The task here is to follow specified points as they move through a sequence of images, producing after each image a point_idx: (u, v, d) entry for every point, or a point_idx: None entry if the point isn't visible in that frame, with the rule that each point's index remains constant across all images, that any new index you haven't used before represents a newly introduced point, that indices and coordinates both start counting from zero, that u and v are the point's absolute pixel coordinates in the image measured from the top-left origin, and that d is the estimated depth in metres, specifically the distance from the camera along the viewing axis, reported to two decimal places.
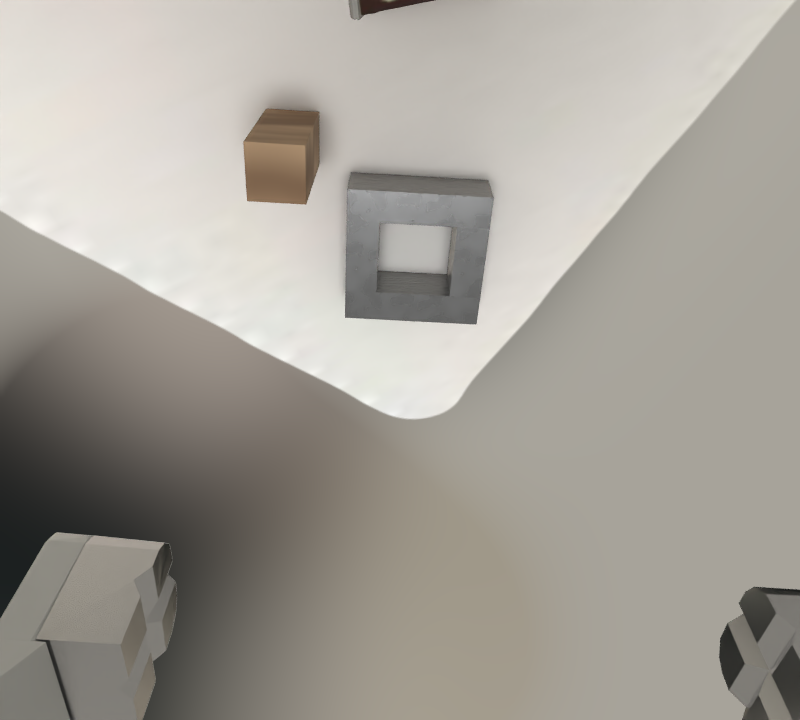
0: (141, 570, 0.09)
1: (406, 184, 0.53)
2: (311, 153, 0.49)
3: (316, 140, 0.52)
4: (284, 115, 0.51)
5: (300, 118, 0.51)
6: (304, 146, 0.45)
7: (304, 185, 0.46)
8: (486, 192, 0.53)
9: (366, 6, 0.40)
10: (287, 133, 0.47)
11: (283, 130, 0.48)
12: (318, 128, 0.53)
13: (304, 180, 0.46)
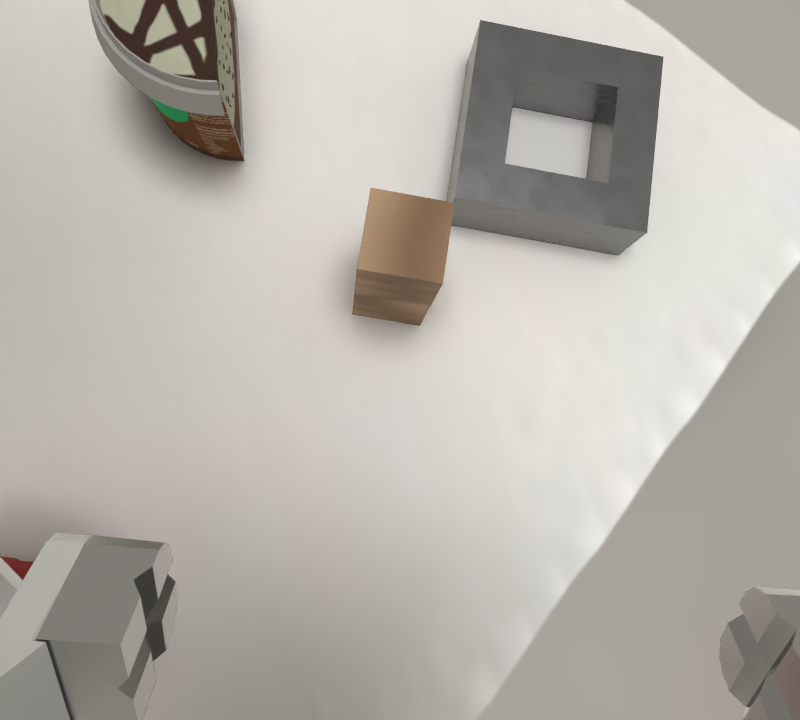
0: (142, 570, 0.09)
1: (459, 140, 0.41)
2: None
3: None
4: None
5: None
6: (372, 189, 0.32)
7: (426, 199, 0.33)
8: (475, 38, 0.41)
9: (207, 79, 0.32)
10: None
11: None
12: None
13: (419, 198, 0.33)
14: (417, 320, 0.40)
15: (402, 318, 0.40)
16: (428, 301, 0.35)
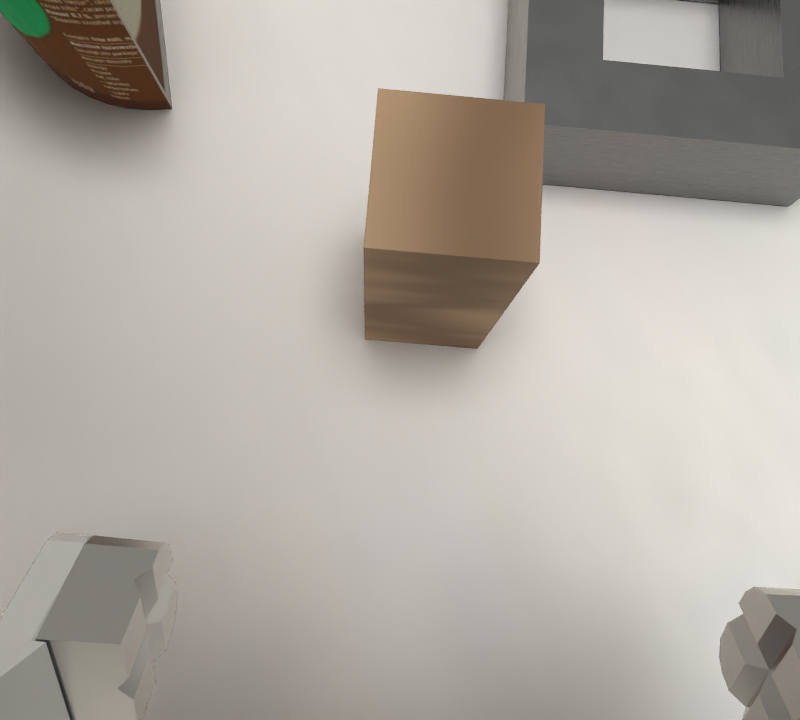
0: (141, 570, 0.09)
1: (516, 38, 0.25)
2: None
3: None
4: None
5: None
6: (381, 91, 0.16)
7: (490, 102, 0.16)
8: None
9: None
10: None
11: None
12: None
13: (475, 100, 0.16)
14: (475, 340, 0.23)
15: (449, 339, 0.23)
16: (502, 304, 0.19)
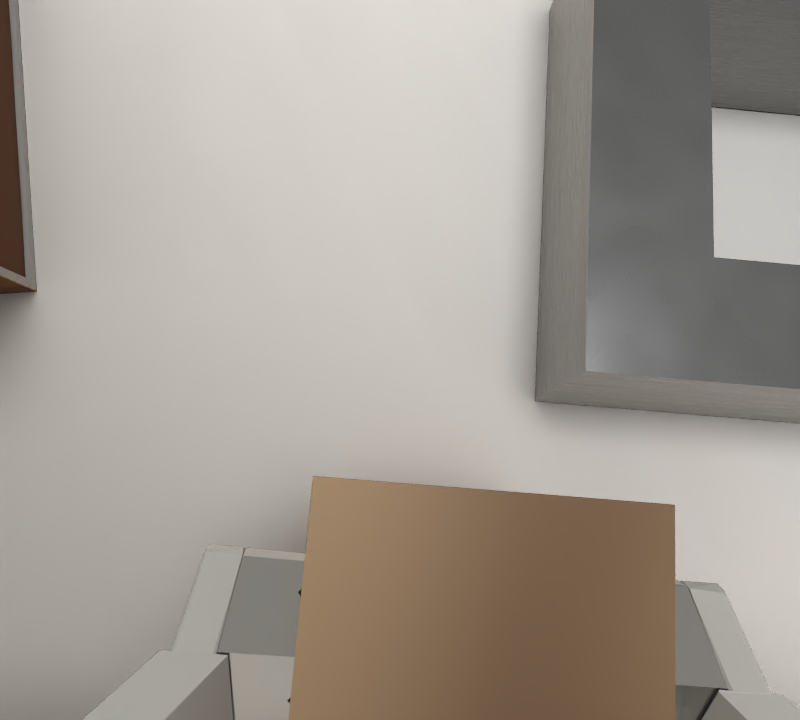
0: None
1: (564, 197, 0.16)
2: None
3: None
4: None
5: None
6: (320, 481, 0.08)
7: (556, 503, 0.08)
8: None
9: None
10: None
11: None
12: None
13: (525, 500, 0.08)
14: None
15: None
16: None
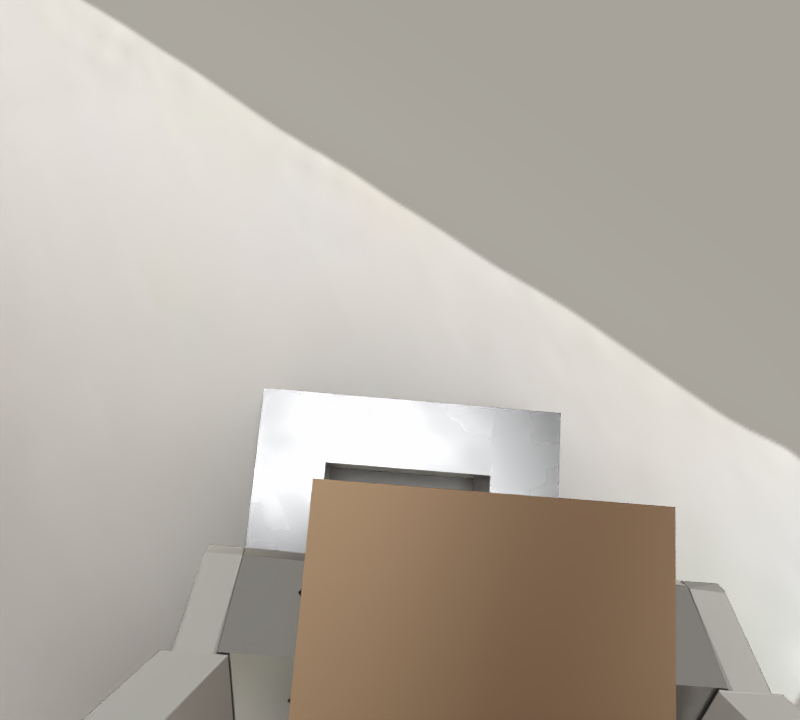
0: None
1: None
2: None
3: None
4: None
5: None
6: (320, 484, 0.08)
7: (556, 506, 0.08)
8: None
9: None
10: None
11: None
12: None
13: (525, 503, 0.08)
14: None
15: None
16: None
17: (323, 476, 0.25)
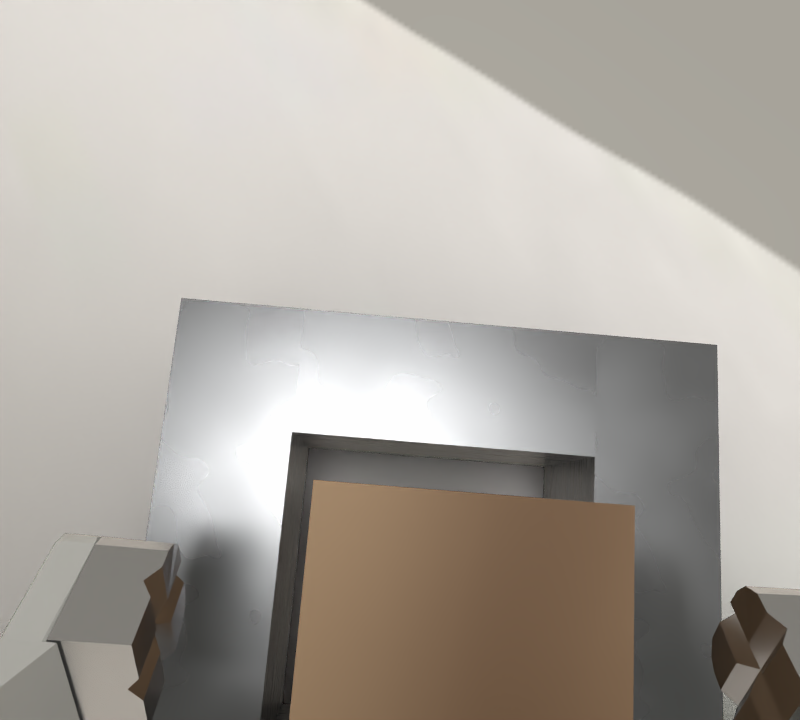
0: (152, 571, 0.09)
1: None
2: None
3: None
4: None
5: None
6: (320, 484, 0.09)
7: (529, 504, 0.09)
8: None
9: None
10: None
11: None
12: None
13: (501, 501, 0.09)
14: None
15: None
16: None
17: (287, 458, 0.13)
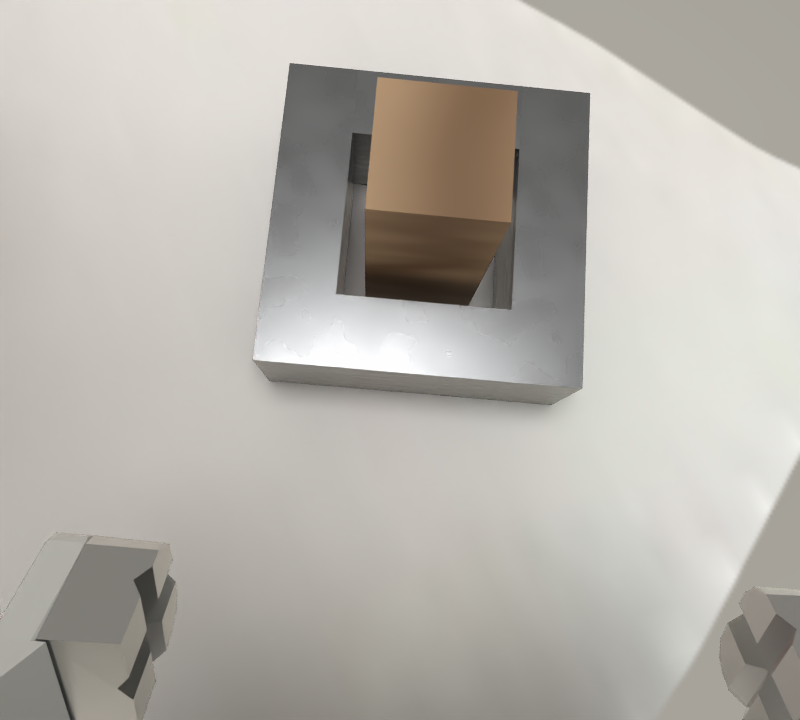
0: (142, 570, 0.09)
1: None
2: None
3: None
4: None
5: None
6: (380, 80, 0.20)
7: (471, 89, 0.20)
8: None
9: None
10: None
11: None
12: None
13: (459, 87, 0.20)
14: (462, 302, 0.27)
15: (440, 301, 0.27)
16: (483, 264, 0.22)
17: (350, 146, 0.25)
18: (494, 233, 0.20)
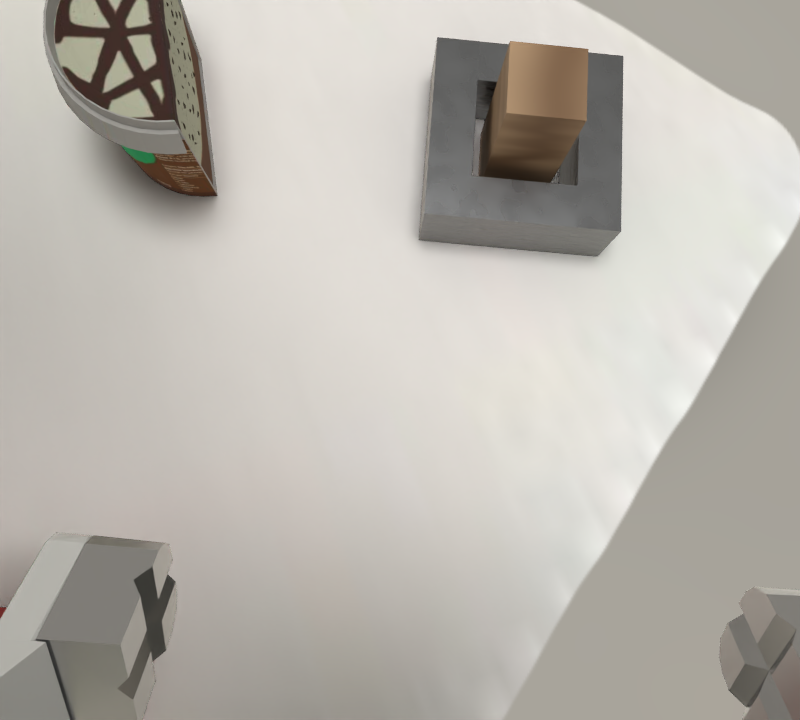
0: (142, 570, 0.09)
1: (426, 156, 0.41)
2: None
3: None
4: (483, 154, 0.41)
5: (486, 131, 0.41)
6: (511, 42, 0.35)
7: (562, 48, 0.35)
8: None
9: (166, 119, 0.33)
10: (499, 96, 0.37)
11: (496, 108, 0.38)
12: None
13: (555, 47, 0.35)
14: None
15: None
16: (563, 154, 0.38)
17: (476, 88, 0.40)
18: (575, 129, 0.35)
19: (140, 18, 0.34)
